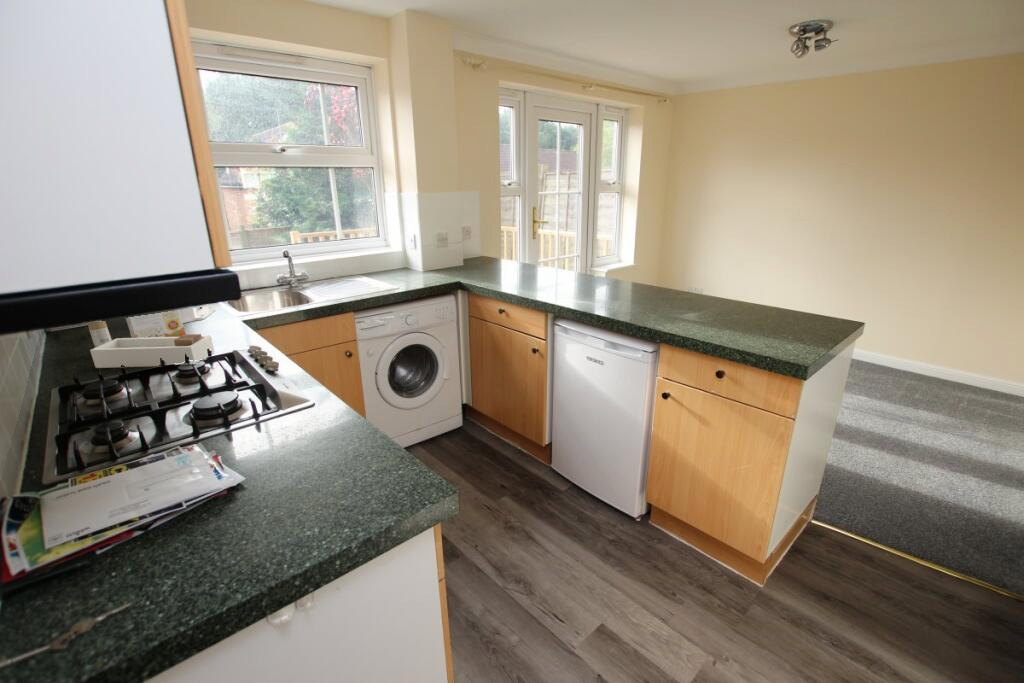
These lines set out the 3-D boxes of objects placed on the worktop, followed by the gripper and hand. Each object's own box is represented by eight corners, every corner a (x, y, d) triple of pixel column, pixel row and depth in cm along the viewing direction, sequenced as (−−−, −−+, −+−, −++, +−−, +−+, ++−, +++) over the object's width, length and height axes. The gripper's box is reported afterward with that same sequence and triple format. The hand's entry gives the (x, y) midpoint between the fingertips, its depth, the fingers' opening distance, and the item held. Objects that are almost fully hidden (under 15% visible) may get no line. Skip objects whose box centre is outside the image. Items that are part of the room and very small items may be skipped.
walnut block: (187, 347, 143) (184, 334, 142) (204, 346, 143) (201, 334, 142) (177, 352, 138) (173, 339, 137) (194, 352, 139) (191, 339, 137)
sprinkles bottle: (115, 350, 150) (103, 309, 146) (115, 353, 147) (102, 312, 143) (97, 353, 148) (83, 312, 143) (96, 357, 144) (83, 315, 140)
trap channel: (95, 367, 136) (89, 350, 134) (122, 355, 146) (116, 338, 144) (195, 364, 137) (190, 347, 135) (214, 352, 147) (210, 335, 145)
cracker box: (180, 332, 167) (165, 274, 160) (186, 336, 163) (171, 276, 156) (132, 343, 157) (113, 281, 150) (137, 347, 153) (119, 283, 146)
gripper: (86, 240, 126) (101, 290, 131) (165, 239, 127) (177, 289, 132) (104, 237, 132) (118, 285, 137) (179, 236, 133) (190, 284, 138)
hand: (148, 287), depth 134 cm, fingers closed
